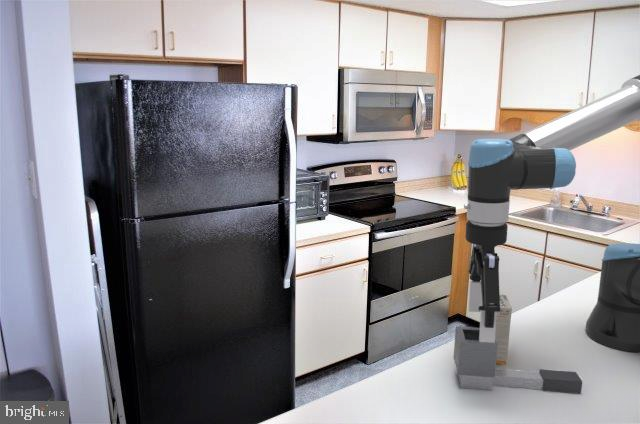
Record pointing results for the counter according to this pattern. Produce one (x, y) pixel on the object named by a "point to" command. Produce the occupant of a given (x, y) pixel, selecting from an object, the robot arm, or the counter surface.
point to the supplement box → (503, 329)
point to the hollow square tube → (474, 353)
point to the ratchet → (526, 380)
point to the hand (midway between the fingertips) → (480, 325)
